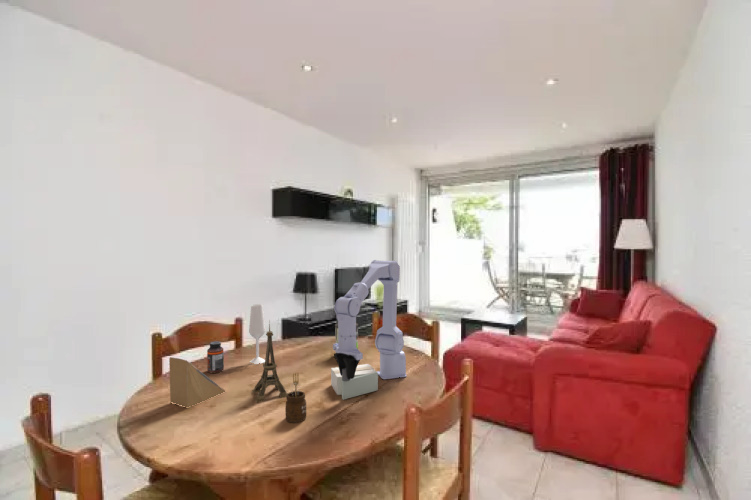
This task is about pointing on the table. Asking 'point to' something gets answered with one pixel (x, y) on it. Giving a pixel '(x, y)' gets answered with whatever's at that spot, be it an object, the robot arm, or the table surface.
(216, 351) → the supplement bottle
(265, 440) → the table surface
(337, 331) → the coffee can
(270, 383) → the eiffel tower
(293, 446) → the table surface
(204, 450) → the table surface
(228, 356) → the table surface
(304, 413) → the utensil holder
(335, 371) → the carton
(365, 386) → the flap
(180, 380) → the sandwich container
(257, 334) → the champagne flute
